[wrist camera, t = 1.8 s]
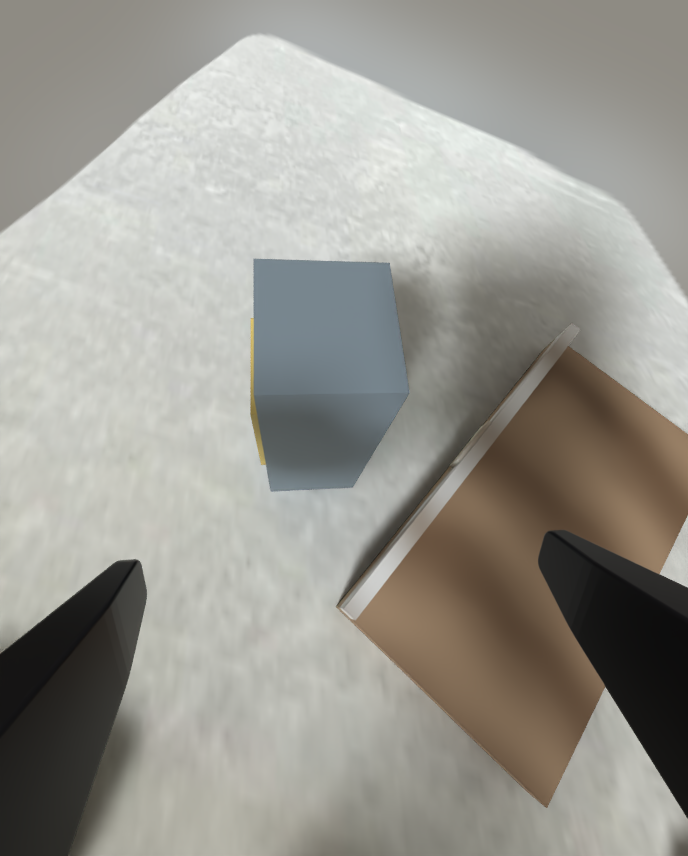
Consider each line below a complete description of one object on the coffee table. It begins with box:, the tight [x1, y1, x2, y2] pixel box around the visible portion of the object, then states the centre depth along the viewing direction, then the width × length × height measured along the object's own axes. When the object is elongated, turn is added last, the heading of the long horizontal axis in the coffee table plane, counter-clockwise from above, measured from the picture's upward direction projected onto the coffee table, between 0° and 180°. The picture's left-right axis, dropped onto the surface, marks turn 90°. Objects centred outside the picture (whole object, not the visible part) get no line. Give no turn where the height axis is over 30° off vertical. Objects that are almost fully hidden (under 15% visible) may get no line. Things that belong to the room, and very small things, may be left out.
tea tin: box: [251, 259, 410, 491], centre depth 18 cm, size 5×5×12 cm
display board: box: [336, 323, 688, 808], centre depth 23 cm, size 22×12×3 cm, turn 139°
